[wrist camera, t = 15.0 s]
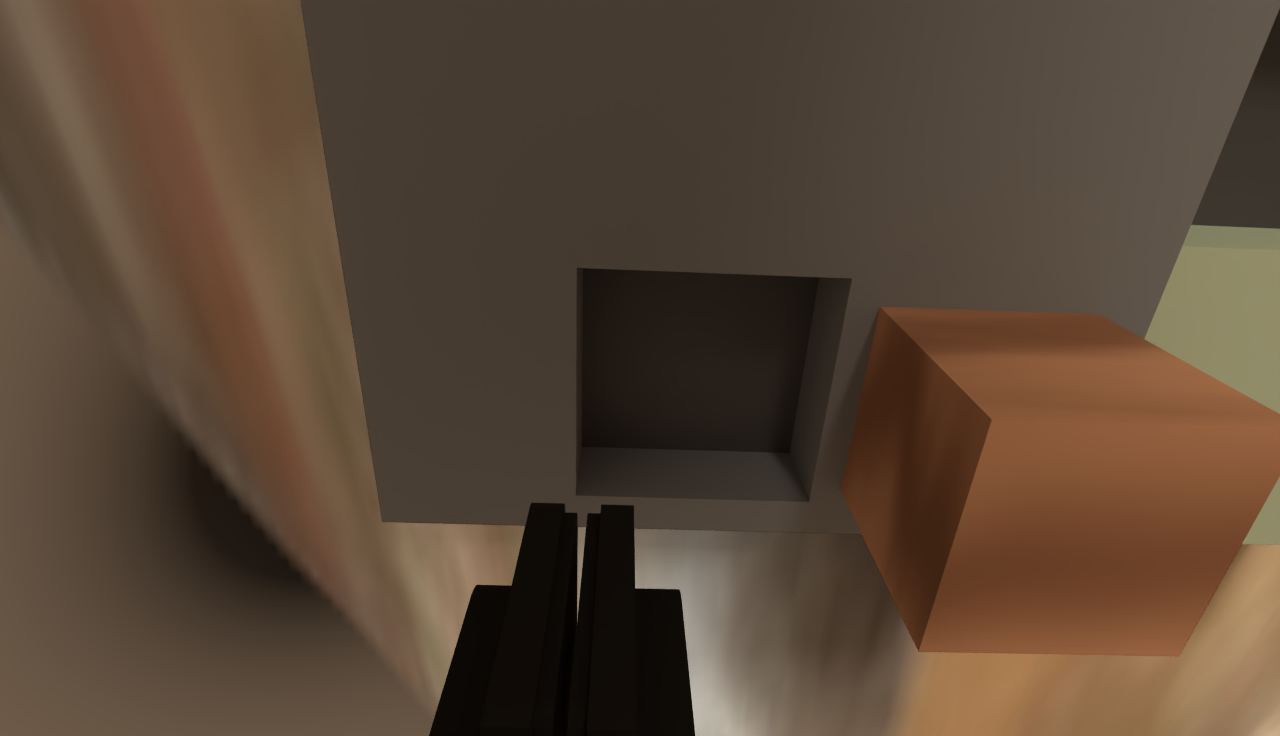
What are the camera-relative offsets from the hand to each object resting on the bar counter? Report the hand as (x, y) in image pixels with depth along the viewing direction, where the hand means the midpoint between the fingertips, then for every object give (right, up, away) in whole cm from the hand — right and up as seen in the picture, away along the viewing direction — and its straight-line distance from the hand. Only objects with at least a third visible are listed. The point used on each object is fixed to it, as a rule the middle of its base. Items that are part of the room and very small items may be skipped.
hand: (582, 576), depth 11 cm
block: (+9, +3, +5) cm, 10 cm away
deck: (+8, +7, +6) cm, 12 cm away
